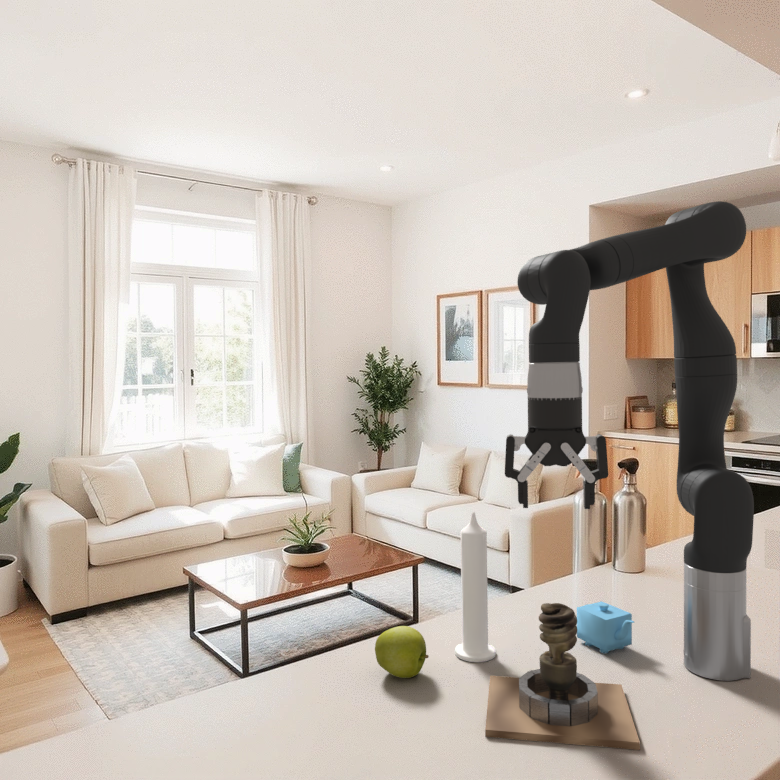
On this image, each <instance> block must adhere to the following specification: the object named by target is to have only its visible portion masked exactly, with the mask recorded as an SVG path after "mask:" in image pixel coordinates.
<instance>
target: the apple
mask: <svg viewBox="0 0 780 780" xmlns="http://www.w3.org/2000/svg"><path fill="white" fill-rule="evenodd" d="M374 645H375V646H374V652H375V658H376V662H377V663H378V664H377V665H379V666H380V667H381V668H382V669H384V670H385V671H386V672H387V673H389V674H390V675H392V676H393V677H396V678H398V679H399V678H400V679H410V678H414V677H415V676H417V675H418V674H419V673H420V672H421V670H422V669H423V666H424V664H425V661H426V659H428V658H429V657H430V656H429V655H428V654H427V644H426V641H425V638H424V636H423V634H422V633H420V631H419V630H417V629H415V628H414V627H412V626H408V625H399V626H394V627H391V628H389V629H387V630H385V631H383V632H382V633H380V635H379V636H378V637H377V638H376V641H375V644H374Z"/></svg>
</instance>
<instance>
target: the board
mask: <svg viewBox="0 0 780 780" xmlns="http://www.w3.org/2000/svg"><path fill="white" fill-rule="evenodd" d="M519 678H520V676H519V677H518V676H517V677H516V676H505V675H490V676H489V685H488V695H487V706H486V707H487V709H486V715H485V716H486V719H485V720H486V721H485V727H484V728H485V730H484V732H485V734H484V735H485V738H495V739H507V740H520V741H530V742H531V741H532V742H543V743H553V744H554V743H555V744H565V745H575V746H577V745H578V746H589V747H600V748H601V747H602V748H612V749H625V750H636V751H640V750H641V741H640V739H639V736H638V732H637V729H636V727H635V723H634V721H633V720H634V719H633V717H632V714H631V710H630V707H629V704H628V701H627V697H626V695H625V692H624V687H623V685H622V684H619V683H617V684H616V683H606V682H594V683H595V684H596V688H597V692H598V713H597V715H596V716H595V717H594V718H593V719H592V720H591V721H590V722H588V723H584V724H580V725H576V726H570V727H569V726H557V725H550V723H549V724H545V723H543V722H540V721H537V720H534V719H532V718H531V717H528V716H527V715H526V714H525V713H524V712H523V711H522V710H521V709H520V707H519ZM536 694H537V695H540V696H542V697H545V698H548V699H549V691H545V692H541V693H536ZM577 698H579V697H577V696H574V695H571V694H568V700H573V699H577Z"/></svg>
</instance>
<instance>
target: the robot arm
mask: <svg viewBox="0 0 780 780" xmlns="http://www.w3.org/2000/svg"><path fill="white" fill-rule="evenodd" d="M746 236H747V223H746V219H745V216H744V214H743V213H742V211H741V209H740V208H738V207H737V206H736V205H734V204H733V203H730V202H727V201H711V202H705V203H703V204H699V205H696V206H692V207H689V208H686V209H682V210H680V211H677V212H674V213H673V214H671V215H669V217H668V219H667V220H666V222H665V223H664V224H662V225H659V226H653V227H650V228H645V229H639V230H635V231H634V230H633V231H629V232H625V233H620V234H616V235H612V236H608V237H604V238H601V239H597V240H594V241H592V242H588V243H586V244H584V245H581V246H578V247H574V248H571V249H570V248H569V249H563V250H558V251H553V252H549V253H546V254H545V253H544V254H541V255H537V256H534V257H532V258H530V259H528V260H527V261H526V262H525V263H524V264H523V265H522V266H521V268H520V270H519V272H518V274H517V275H518V276H517V280H516V281H517V282H516V283H517V288H518V291H519V293H520V294H521V295H522V297H523V298H524V299H525V300H526V301H528V302H530V303H531V304H535V305H538V306H539V305H541V306H542V305H545V309H544V312H543V316H542V318H541V319H540V320H539V321H536V322H535V323H533V324H532V325H531V326H530V328H529V331H528V372H527V388H526V393H527V433H526V435H525V436H521V435H520V436H517V435H514V434H508V435H507V436H506V437H505V438H506V440H505V458H504V476H505V477H506V478H509V479H512V480H515V481H516V483H517V501H518V504H519V505H522V508H523V509H528V508H529V485H528V484H529V482H528V478H529V477H530V475H531V474H532V473H533V471H534V470H535V469H536V468H537V466H538V465H539V464H540V465H542V466H544V467H552V466H559V467H568V466H569V465H571V464H573V466H574V467H575V468H576V469H577V471H578V472H579V473H580V475H582V477H583V479H584V480H583V481H582V486H583V488H582V489H583V491H582V492H583V495H582V496H583V497H582V498H583V508H584V509H585V510H591V506H594V504H595V503H596V485H595V484H596V482H597V481H600V480H602V479H607V478H608V477H609V463H608V452H607V451H608V450H607V439H606V437H605V436H604V435H603V434H601V433H598V434H596V435H595V436H594V435H593V436H592V435H590V436H588V435H587V436H585V435H584V431H583V390H584V388H583V383H582V382H583V381H582V379H583V378H582V370H581V363H580V360H581V359H580V357H581V355H580V354H581V353H580V352H581V351H580V332H581V327H582V324H583V322H584V317H585V313H586V309H587V304H588V300H589V296H590V291H594V290H595V291H597V290H601V289H606V288H609V287H613V286H615V285H619V284H623V283H626V282H628V281H631V280H634V279H637V278H640V277H642V276H645V275H648V274H651V273H654V272H657V271H660V270H663V269H665V271H666V277H667V279H666V280H667V284H668V290H669V291H668V292H669V297H670V298H669V299H670V307H671V309H670V310H671V318H672V319H671V320H672V321H671V322H672V332H673V333H672V334H673V362H674V363H673V364H674V365H673V366H674V382H675V392H676V412H677V424H678V454H677V455H678V457H677V472H676V494H677V498H678V502H679V503H680V506H682V509H684V510H685V512H687V513H688V514H690V515H691V516H693V533H692V534H693V535H692V540H691V541H690V542H687V543H686V544H685V545H684V548H683V664H684V666H685V668H686V669H687V670H689V671H690V672H691V673H693V674H696V675H697V676H700V677H703V678H707V679H711V680H715V681H716V680H717V681H726V682H727V681H729V682H731V681H736V680H741V679H750V678H751V675H752V674H751V673H752V672H751V671H752V670H751V669H752V668H751V667H752V665H751V664H752V663H751V661H752V660H751V659H752V658H751V657H752V652H751V651H752V648H751V645H752V641H751V640H752V639H751V638H752V622H751V618H750V617H749V615H748V614H747V561H748V557H749V555H750V553H751V551H752V546H753V539H754V538H753V537H754V536H753V535H754V520H755V519H754V518H755V517H754V516H755V513H754V512H755V503H754V495H753V494H754V493H753V490H752V487H751V485H750V483H749V481H747V479H746V478H745V477H744V476H743V475H742V474H740V473H738V472H735V471H733V470H731V469H727V463H726V454H725V439H724V438H725V429H726V425H727V420H728V417H729V416H730V415H729V414H730V412H731V409H732V407H733V403H734V399H735V396H736V392H737V387H738V386H737V385H738V359H737V346H736V342H735V339H734V336H733V335H732V332H731V331H730V330H729V327H728V326H727V325H726V323H725V321H724V320H723V319H722V317H721V316H720V314H719V313H718V311H717V310H716V308H715V306H714V305H713V304H712V301H711V300H710V298H709V294H708V291H707V287H706V285H707V284H706V279H705V278H706V277H705V264H708V263H713V262H719V261H723V260H725V259H727V258H728V259H729V258H730V257H732V256H733V255H734V254H736V253H738V251H739V250H740V249H741V248H742V246H743V245H744V243H745V240H746ZM523 444H524V445H525V447H526V448H527V449H528V450H529V452H530V453H531V455H530V456H529V458H527V460H526V462H525V463H524V464H523V466H522V467H521V468H520V470H519V469H515V468H514V466H515V465H514V464H515V463H514V461H515V452H518V451H520V449H521V446H522V445H523ZM586 445H588V446H589V447H590V449H591V450H592V451H593V452H595V453H596V454H595V456H596V469H594V470H592V471H591V470H590V469H589V467H588V466H587V465H586V463H585V462H584V461H583V460H582V458H581V457H580V456H579V455H580V453H581V452H582V451H583V449H584V448H585V446H586Z"/></svg>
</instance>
